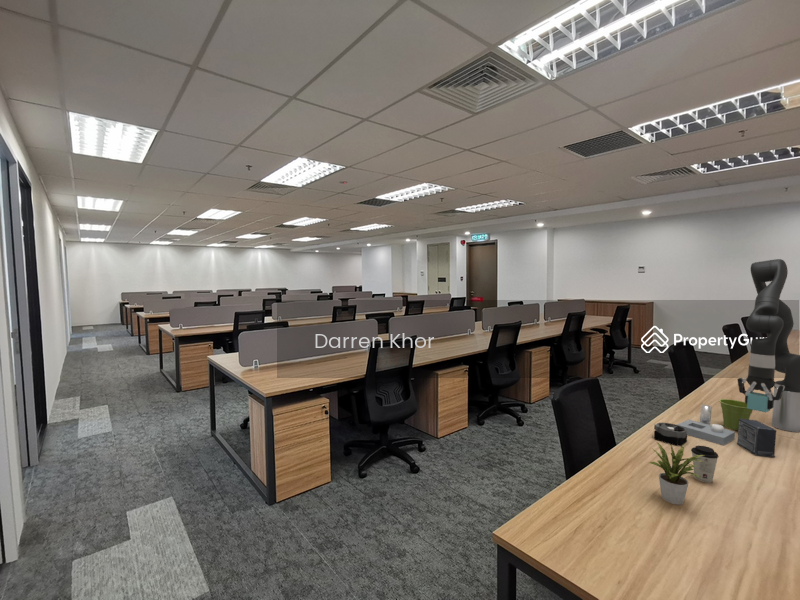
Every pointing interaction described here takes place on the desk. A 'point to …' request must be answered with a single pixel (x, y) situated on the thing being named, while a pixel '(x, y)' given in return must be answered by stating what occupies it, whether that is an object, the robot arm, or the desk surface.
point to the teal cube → (757, 402)
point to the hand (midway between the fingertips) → (758, 406)
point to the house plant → (674, 475)
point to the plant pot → (734, 412)
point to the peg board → (708, 432)
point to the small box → (756, 437)
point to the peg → (705, 414)
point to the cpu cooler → (670, 433)
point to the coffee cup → (704, 463)
